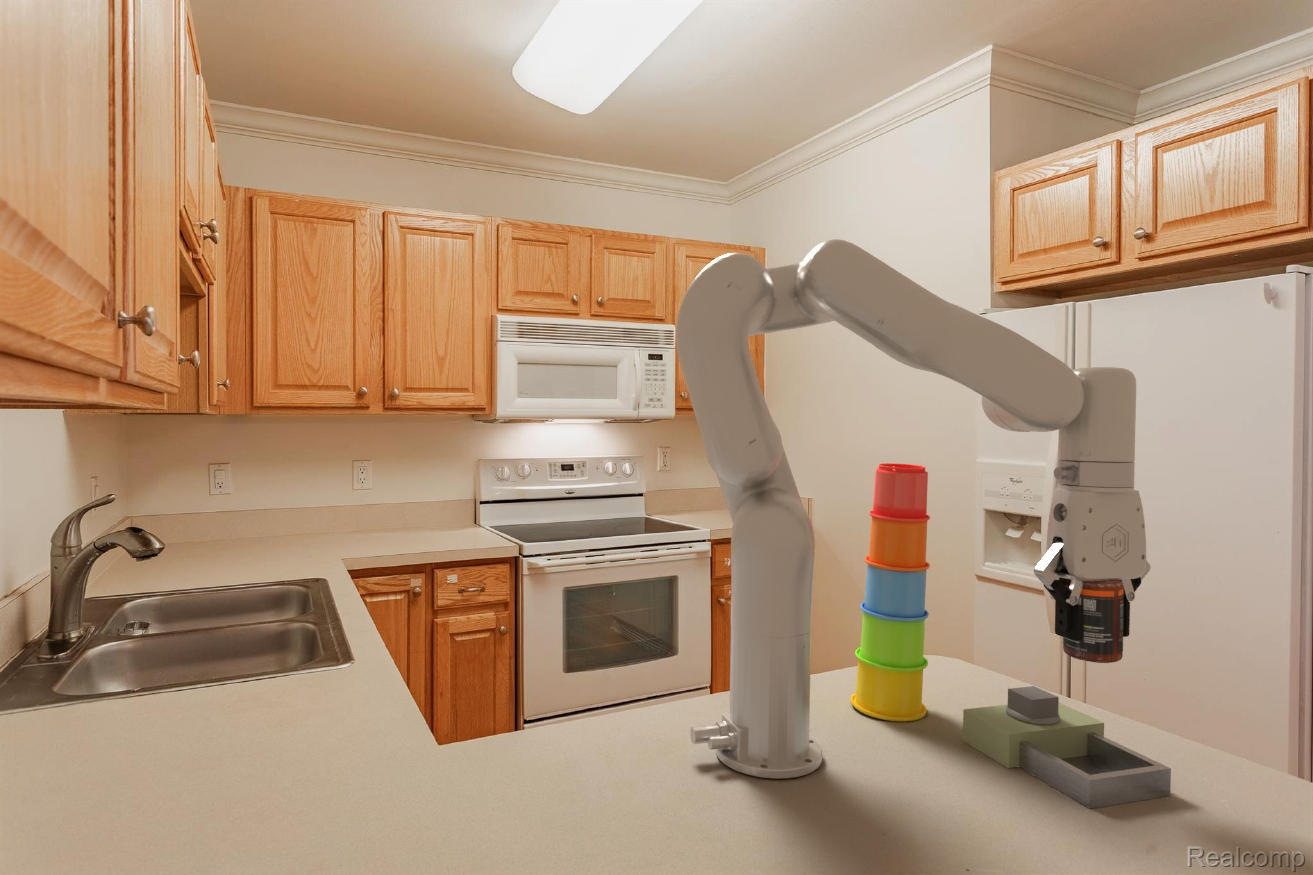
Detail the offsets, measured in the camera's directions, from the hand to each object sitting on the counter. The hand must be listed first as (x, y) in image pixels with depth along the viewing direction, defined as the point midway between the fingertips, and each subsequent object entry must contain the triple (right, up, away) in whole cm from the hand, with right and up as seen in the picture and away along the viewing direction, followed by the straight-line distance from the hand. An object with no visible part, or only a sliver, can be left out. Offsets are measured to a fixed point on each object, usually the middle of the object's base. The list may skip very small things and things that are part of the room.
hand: (1091, 634), depth 86 cm
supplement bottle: (0, -3, 0) cm, 3 cm away
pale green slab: (-3, -16, +8) cm, 19 cm away
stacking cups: (-17, -16, +21) cm, 31 cm away
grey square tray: (0, -17, 0) cm, 17 cm away
